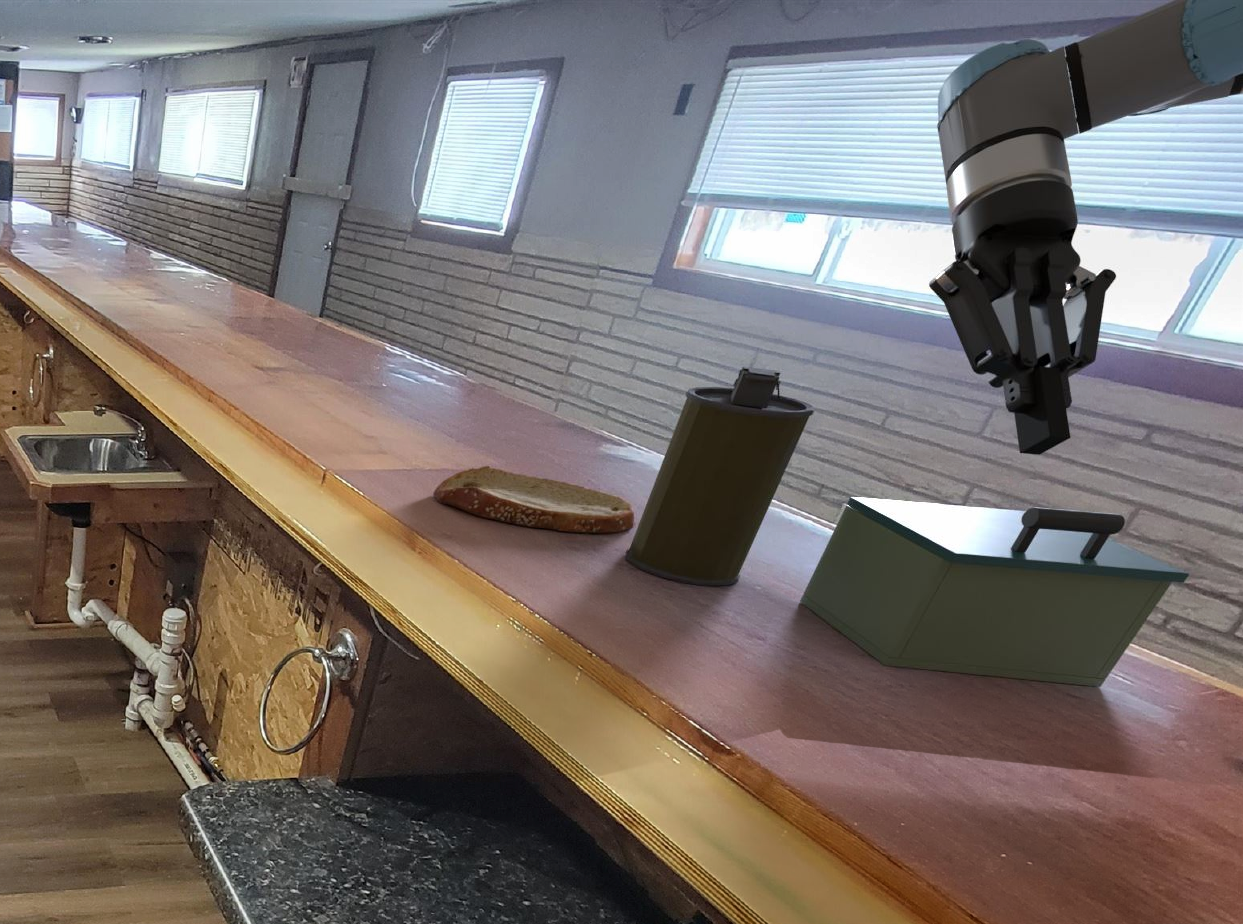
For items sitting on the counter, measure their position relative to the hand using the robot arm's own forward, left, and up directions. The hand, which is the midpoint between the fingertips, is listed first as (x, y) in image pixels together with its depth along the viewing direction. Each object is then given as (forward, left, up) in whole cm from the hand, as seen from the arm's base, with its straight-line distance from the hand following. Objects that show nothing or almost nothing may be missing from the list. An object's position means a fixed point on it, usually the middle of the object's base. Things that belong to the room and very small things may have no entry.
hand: (1044, 445), depth 80 cm
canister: (+19, -10, -18) cm, 28 cm away
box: (0, 0, -18) cm, 18 cm away
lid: (0, +1, -8) cm, 8 cm away
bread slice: (+33, -22, -18) cm, 43 cm away
